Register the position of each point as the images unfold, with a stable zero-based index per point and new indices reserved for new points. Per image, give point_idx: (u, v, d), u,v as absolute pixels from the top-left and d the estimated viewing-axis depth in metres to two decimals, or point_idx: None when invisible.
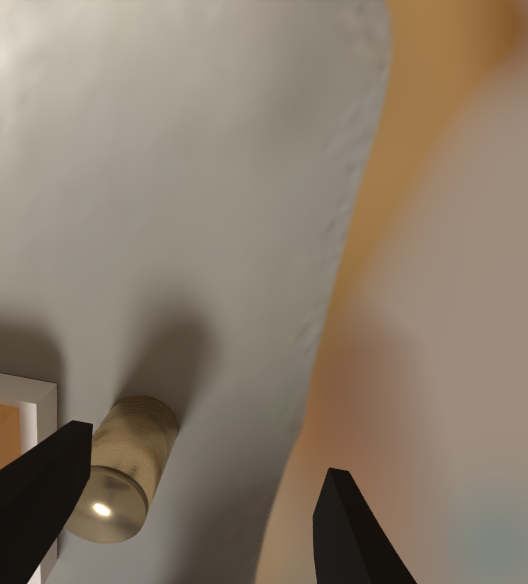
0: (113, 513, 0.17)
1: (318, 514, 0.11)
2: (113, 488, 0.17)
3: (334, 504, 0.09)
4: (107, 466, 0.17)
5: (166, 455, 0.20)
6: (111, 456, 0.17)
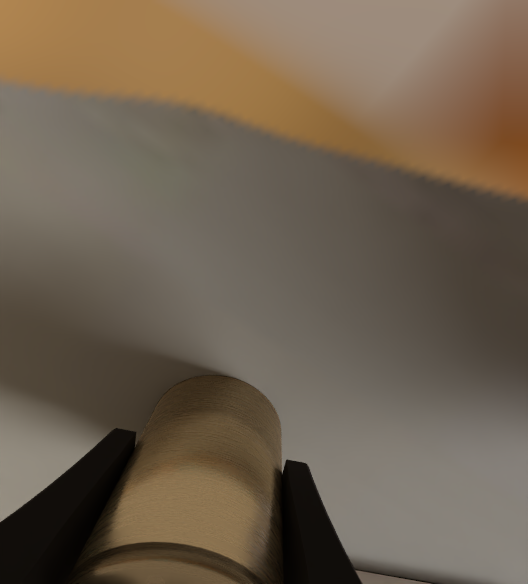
0: None
1: None
2: None
3: (287, 495, 0.09)
4: None
5: (197, 427, 0.09)
6: None
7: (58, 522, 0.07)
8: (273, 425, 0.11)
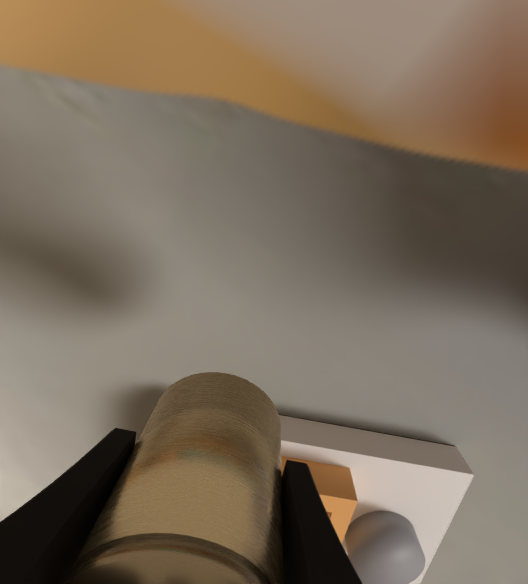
0: None
1: None
2: None
3: (287, 495, 0.09)
4: None
5: (198, 422, 0.09)
6: None
7: (58, 522, 0.07)
8: (273, 421, 0.11)
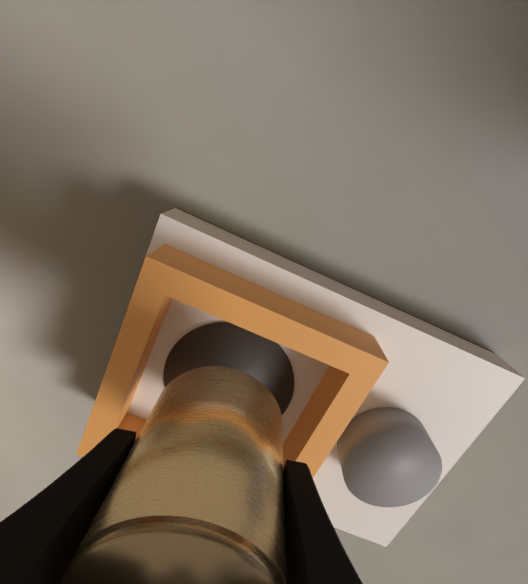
0: None
1: None
2: None
3: (287, 496, 0.09)
4: None
5: (198, 412, 0.09)
6: None
7: (58, 522, 0.07)
8: (273, 413, 0.11)
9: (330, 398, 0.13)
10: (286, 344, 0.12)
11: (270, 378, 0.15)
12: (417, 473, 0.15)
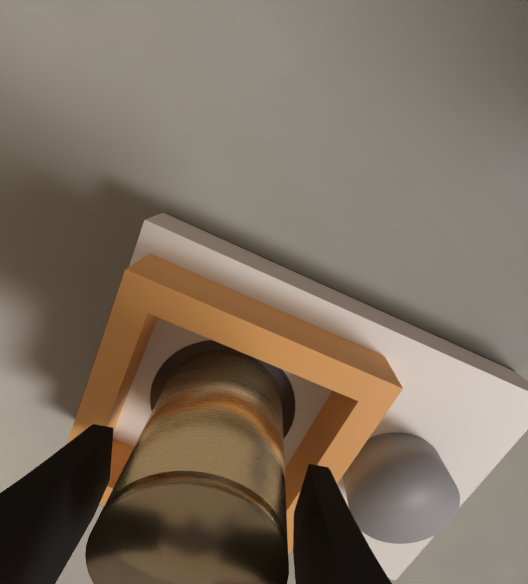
0: (193, 546, 0.08)
1: (298, 510, 0.11)
2: (118, 538, 0.08)
3: (312, 500, 0.09)
4: None
5: (207, 389, 0.11)
6: None
7: (24, 516, 0.07)
8: (274, 392, 0.12)
9: (336, 427, 0.12)
10: (286, 368, 0.11)
11: None
12: (432, 507, 0.13)
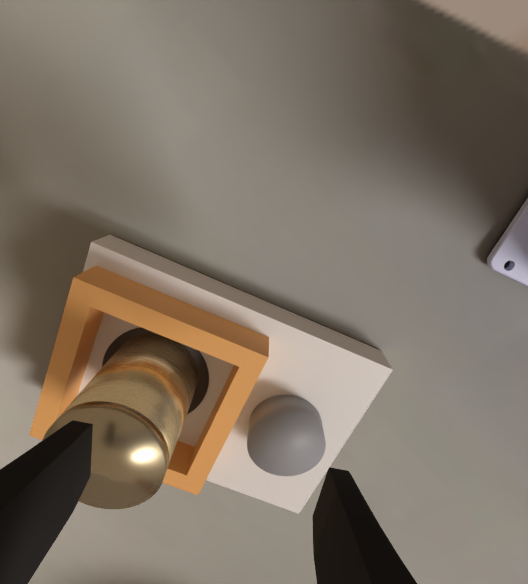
0: (105, 446, 0.13)
1: (318, 514, 0.11)
2: None
3: (334, 504, 0.09)
4: None
5: (130, 358, 0.15)
6: None
7: None
8: (187, 363, 0.17)
9: (228, 386, 0.17)
10: (187, 344, 0.16)
11: None
12: (306, 447, 0.18)
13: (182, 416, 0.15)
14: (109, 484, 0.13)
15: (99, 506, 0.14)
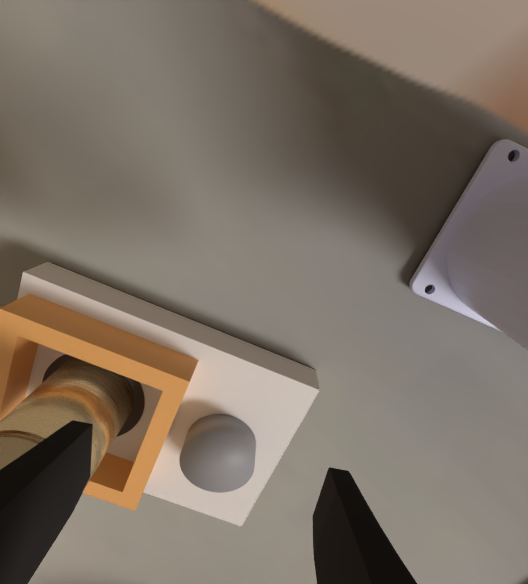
0: None
1: (318, 514, 0.11)
2: None
3: (334, 504, 0.09)
4: None
5: (56, 384, 0.16)
6: None
7: None
8: (118, 386, 0.18)
9: (156, 408, 0.18)
10: (112, 369, 0.17)
11: None
12: (236, 465, 0.19)
13: (104, 439, 0.16)
14: None
15: None
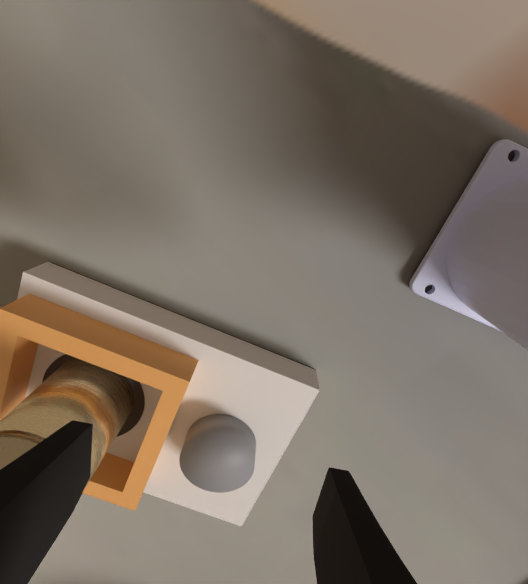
0: None
1: (318, 514, 0.11)
2: None
3: (334, 504, 0.09)
4: None
5: (56, 384, 0.16)
6: None
7: None
8: (118, 386, 0.18)
9: (156, 408, 0.18)
10: (112, 369, 0.17)
11: None
12: (236, 465, 0.19)
13: (104, 439, 0.16)
14: None
15: None
